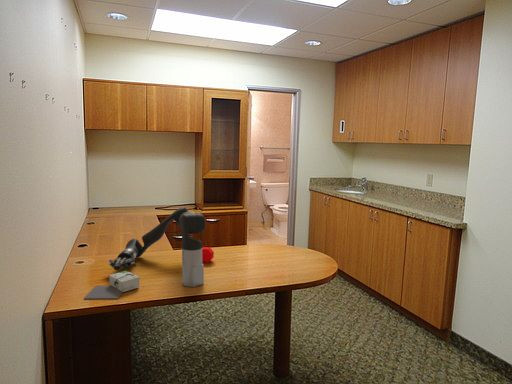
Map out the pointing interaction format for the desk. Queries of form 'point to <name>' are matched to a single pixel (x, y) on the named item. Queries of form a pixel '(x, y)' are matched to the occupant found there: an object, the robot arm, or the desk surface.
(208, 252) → the ball
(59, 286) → the desk surface
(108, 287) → the charcoal mat
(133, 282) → the ink box
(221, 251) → the desk surface
